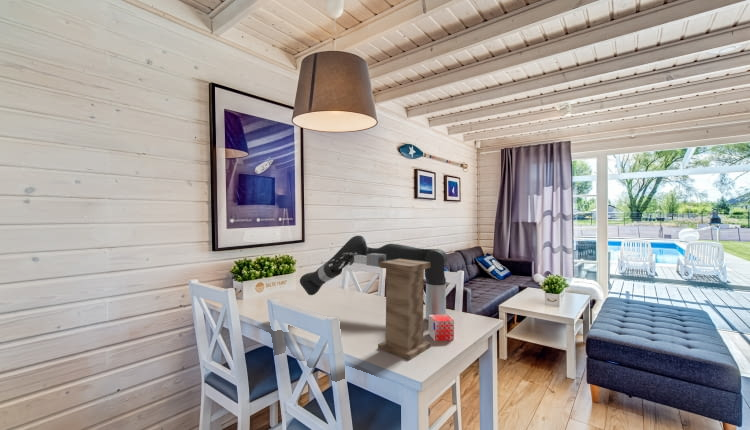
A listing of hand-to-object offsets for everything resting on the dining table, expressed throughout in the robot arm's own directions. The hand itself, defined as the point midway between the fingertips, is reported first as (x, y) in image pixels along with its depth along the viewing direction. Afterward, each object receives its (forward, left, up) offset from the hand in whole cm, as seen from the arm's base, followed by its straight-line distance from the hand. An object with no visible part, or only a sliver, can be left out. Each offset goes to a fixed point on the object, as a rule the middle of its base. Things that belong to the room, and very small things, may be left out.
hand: (353, 255), depth 136 cm
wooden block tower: (0, +26, -32) cm, 41 cm away
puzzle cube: (-19, +31, -33) cm, 49 cm away
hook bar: (0, +5, -3) cm, 6 cm away
